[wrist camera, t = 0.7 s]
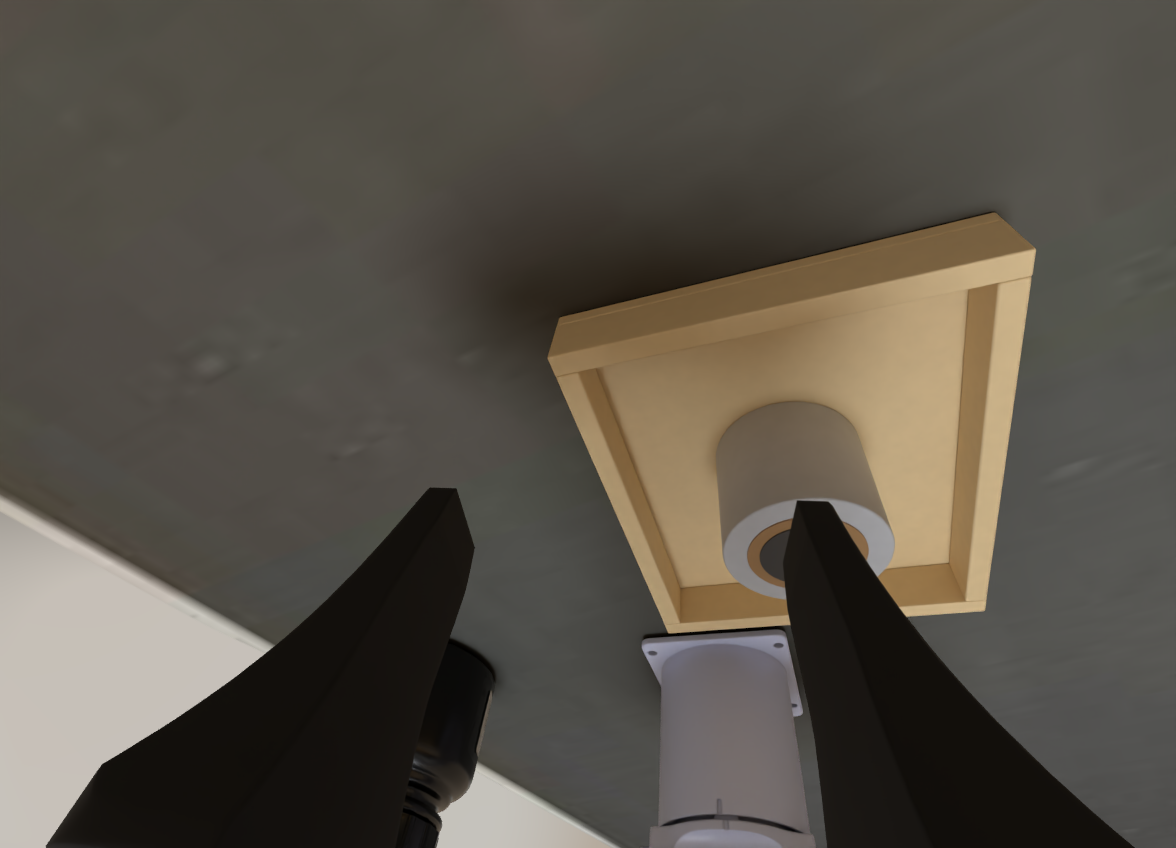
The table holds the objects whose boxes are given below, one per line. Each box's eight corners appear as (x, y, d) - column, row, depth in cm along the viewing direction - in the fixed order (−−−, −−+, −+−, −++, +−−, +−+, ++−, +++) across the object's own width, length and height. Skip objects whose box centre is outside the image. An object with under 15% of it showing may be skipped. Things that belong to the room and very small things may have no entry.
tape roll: (863, 492, 24) (897, 596, 20) (728, 509, 25) (737, 609, 22) (856, 388, 21) (895, 490, 17) (703, 415, 22) (708, 513, 19)
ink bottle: (415, 704, 44) (347, 909, 35) (333, 643, 39) (228, 863, 30) (526, 689, 40) (481, 914, 31) (450, 620, 35) (371, 862, 26)
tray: (962, 560, 27) (985, 611, 25) (669, 588, 31) (668, 633, 29) (995, 210, 17) (1037, 248, 15) (558, 316, 21) (546, 357, 19)
